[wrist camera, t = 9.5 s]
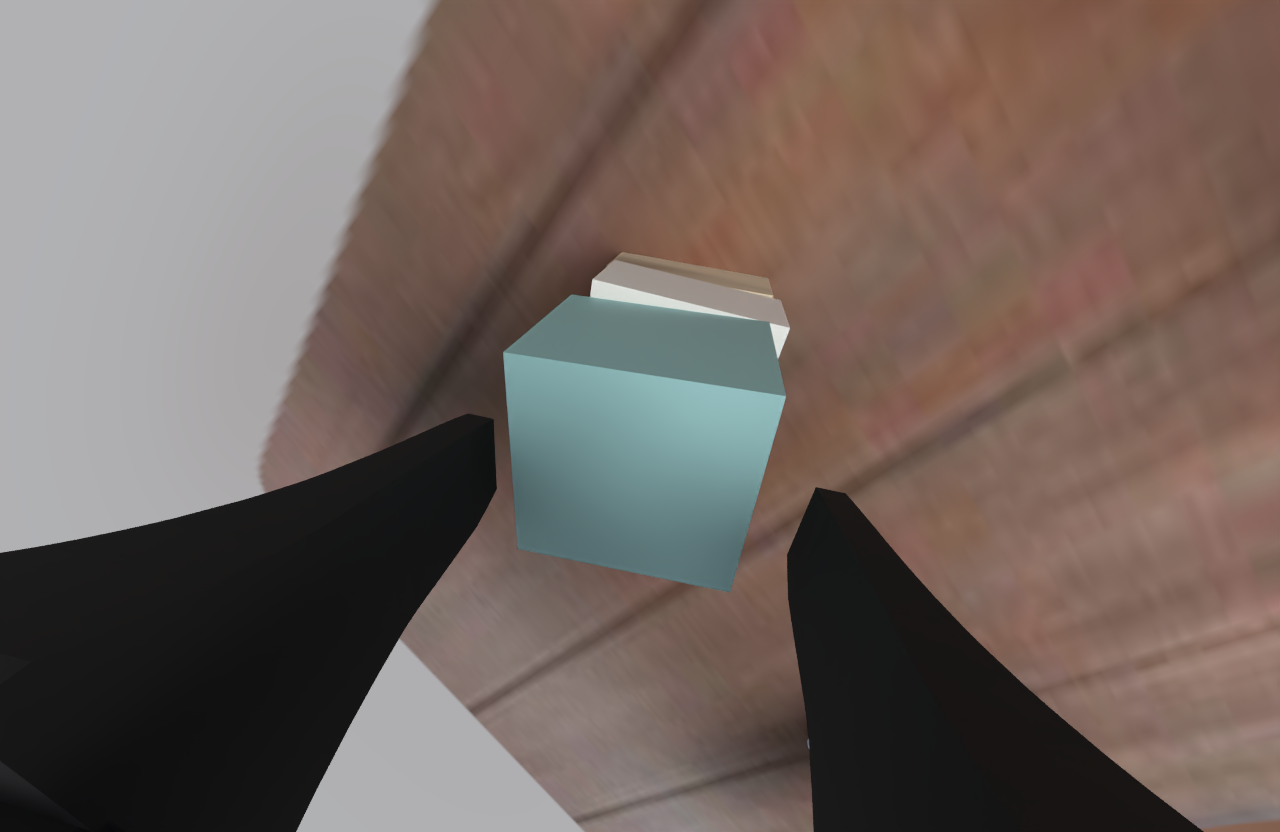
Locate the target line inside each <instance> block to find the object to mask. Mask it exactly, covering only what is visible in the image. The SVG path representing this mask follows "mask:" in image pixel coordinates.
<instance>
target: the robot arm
mask: <svg viewBox="0 0 1280 832" xmlns="http://www.w3.org/2000/svg"><path fill="white" fill-rule="evenodd" d="M496 489H497V485H496V464H495V442H494V421H493V419H491V418H486V417H482V416H477V415H472V414H466V415H463V416H460V417H458V418H455V419H453V420H450V421H448V422H445V423H443V424H441V425H439V426H436V427H434V428H432V429H429V430H427V431H425V432H423V433H420V434H418V435H416V436H414V437H411V438H409V439H407V440H405V441H402V442H400V443H398V444H395V445H393V446H391V447H389V448H386V449H384V450H382V451H379V452H377V453H375V454H372V455H370V456H367V457H364V458H362V459H359V460H357V461H354V462H352V463H349V464H347V465H344V466H342V467H339V468H337V469H334V470H332V471H329V472H327V473H324V474H321V475H319V476H316V477H313V478H310V479H307V480H305V481H302V482H299V483H296V484H293V485H290V486H287V487H284V488H280V489H277V490H274V491H271V492H268V493H265V494H262V495H259V496H255V497H252V498H249V499H245V500H241V501H238V502H234V503H230V504H227V505H223V506H219V507H215V508H211V509H208V510H204V511H200V512H196V513H193V514H189V515H185V516H181V517H178V518H174V519H170V520H165V521H161V522H157V523H152V524H148V525H144V526H139V527H135V528H130V529H126V530H121V531H116V532H112V533H107V534H102V535H97V536H92V537H88V538H82V539H77V540H73V541H67V542H62V543H57V544H51V545H45V546H40V547H34V548H28V549H22V550H15V551H9V552H3V553H0V832H296V831H297V829H298V827H299V825H300V822H301V820H302V818H303V816H304V814H305V812H306V810H307V808H308V806H309V804H310V802H311V800H312V798H313V796H314V794H315V792H316V789H317V788H318V786H319V784H320V782H321V780H322V778H323V776H324V774H325V772H326V770H327V768H328V766H329V765H330V763H331V761H332V759H333V757H334V755H335V753H336V751H337V749H338V747H339V745H340V743H341V742H342V740H343V738H344V736H345V734H346V732H347V730H348V728H349V726H350V724H351V723H352V721H353V719H354V717H355V715H356V713H357V712H358V710H359V708H360V706H361V704H362V703H363V701H364V699H365V697H366V695H367V694H368V692H369V690H370V688H371V686H372V684H373V683H374V681H375V679H376V677H377V675H378V674H379V672H380V670H381V669H382V667H383V665H384V663H385V662H386V660H387V658H388V656H389V655H390V653H391V651H392V650H393V648H394V646H395V644H396V643H397V641H398V639H399V638H400V636H401V634H402V633H403V631H404V629H405V628H406V626H407V625H408V623H409V622H410V620H411V619H412V617H413V616H414V614H415V613H416V611H417V610H418V608H419V607H420V605H421V604H422V603H423V601H424V600H425V598H426V597H427V596H428V594H429V593H430V591H431V590H432V589H433V587H434V586H435V585H436V583H437V582H438V580H439V579H440V578H441V576H442V575H443V573H444V572H445V571H446V569H447V568H448V566H449V565H450V564H451V562H452V561H453V560H454V558H455V557H456V555H457V554H458V553H459V551H460V550H461V548H462V547H463V545H464V544H465V543H466V541H467V540H468V538H469V537H470V536H471V534H472V533H473V531H474V530H475V528H476V527H477V525H478V523H479V522H480V520H481V518H482V516H483V514H484V513H485V511H486V509H487V507H488V505H489V503H490V501H491V499H492V497H493V495H494V493H495V491H496ZM787 575H788V600H789V607H790V614H791V621H792V627H793V634H794V640H795V647H796V653H797V659H798V666H799V672H800V678H801V684H802V691H803V697H804V703H805V710H806V719H807V727H808V736H809V739H808V740H807V744H808V748H809V751H810V767H811V783H812V802H813V825H814V832H1203V831H1202V830H1201V829H1199V828H1198V827H1197V826H1195V825H1194V824H1193V823H1192V822H1190V821H1189V820H1188V819H1186V818H1185V817H1184V816H1182V815H1181V814H1180V813H1178V812H1177V811H1176V810H1175V809H1173V808H1172V807H1171V806H1169V805H1168V804H1167V803H1165V802H1164V801H1163V800H1162V799H1160V798H1159V797H1158V796H1156V795H1155V794H1154V793H1152V792H1151V791H1150V790H1149V789H1147V788H1146V787H1145V786H1144V785H1142V784H1141V783H1140V782H1139V781H1137V780H1136V779H1135V778H1134V777H1132V776H1131V775H1130V774H1129V773H1127V772H1126V771H1125V770H1124V769H1122V768H1121V767H1120V766H1119V765H1117V764H1116V763H1115V762H1114V761H1112V760H1111V759H1110V758H1109V757H1107V756H1106V755H1105V754H1104V753H1103V752H1101V751H1100V750H1099V749H1098V748H1097V747H1095V746H1094V745H1093V744H1092V743H1091V742H1090V741H1088V740H1087V739H1086V738H1085V737H1084V736H1082V735H1081V734H1080V733H1079V732H1078V731H1076V730H1075V729H1074V728H1073V727H1072V726H1071V725H1069V724H1068V723H1067V722H1066V721H1065V720H1063V719H1062V718H1061V717H1060V716H1059V715H1058V714H1056V713H1055V712H1054V711H1053V710H1052V709H1050V708H1049V707H1048V706H1047V705H1046V704H1045V703H1044V702H1043V701H1041V700H1040V699H1039V698H1038V697H1037V696H1036V695H1035V694H1034V693H1032V692H1031V691H1030V690H1029V689H1028V688H1027V687H1026V686H1025V685H1023V684H1022V683H1021V682H1020V681H1019V680H1018V679H1017V678H1016V677H1015V676H1014V675H1013V674H1012V673H1011V672H1010V671H1009V670H1007V669H1006V668H1005V667H1004V666H1003V665H1002V664H1001V663H1000V662H999V661H998V660H997V659H996V658H995V657H994V656H993V655H991V654H990V653H989V652H988V651H987V650H986V649H985V648H984V647H983V646H982V645H981V644H980V643H979V642H978V641H977V640H976V639H975V638H974V637H973V636H972V635H971V634H970V633H969V632H968V631H967V630H966V629H965V628H964V627H963V626H962V625H961V624H960V623H959V622H958V621H957V620H956V619H955V618H954V617H953V616H952V615H951V613H950V612H949V611H948V610H947V609H946V608H945V607H944V606H943V605H942V604H941V603H940V602H939V601H938V600H937V599H936V598H935V597H934V596H933V594H932V593H931V592H930V591H929V590H928V589H927V588H926V587H925V586H924V585H923V583H922V582H921V581H920V580H919V579H918V578H917V577H916V576H915V574H914V573H913V572H912V571H911V570H910V569H909V568H908V566H907V565H906V564H905V563H904V562H903V561H902V560H901V558H900V557H899V556H898V555H897V554H896V552H895V551H894V550H893V549H892V548H891V547H890V545H889V544H888V543H887V542H886V541H885V539H884V538H883V537H882V536H881V535H880V533H879V532H878V531H877V530H876V529H875V527H874V526H873V525H872V524H871V523H870V521H869V520H868V519H867V518H866V517H865V515H864V514H863V513H862V512H861V511H860V509H859V508H858V507H857V506H856V505H855V504H854V502H853V501H852V500H851V499H850V498H849V497H848V496H847V495H846V494H845V493H841V492H836V491H831V490H827V489H822V488H817V487H816V488H815V491H814V493H813V495H812V498H811V500H810V502H809V505H808V507H807V509H806V512H805V514H804V516H803V519H802V521H801V523H800V526H799V528H798V531H797V533H796V535H795V538H794V540H793V542H792V545H791V547H790V549H789V552H788V554H787Z"/></svg>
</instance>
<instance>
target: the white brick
mask: <svg viewBox="0 0 1280 832" xmlns="http://www.w3.org/2000/svg"><path fill="white" fill-rule="evenodd" d="M590 297H593V298H600V299H608V300H615V301H622V302H629V303H636V304H644V305H651V306H658V307H665V308H673V309H680V310H687V311H694V312H701V313H709V314H716V315H723V316H730V317H737V318H745V319H752V320H759V321H766V322H770V327H771V331H772V336H773V340H774V345H775V349H776V353H777V358H779V355H780V353H781V350H782V347H783V345H784V342H785V340H786V337H787V335H788V332H789V329H790V326H789V323H788V321H787V318H786V315H785V312H784V309H783V306H782V303H781V300H778V299H774V298H769V297H765V296H761V295H757V294H753V293H749V292H745V291H741V290H737V289H733V288H728V287H724V286H720V285H716V284H712V283H708V282H704V281H700V280H696V279H692V278H687V277H683V276H679V275H675V274H671V273H667V272H663V271H659V270H655V269H651V268H646V267H642V266H638V265H634V264H630V263H626V262H622V261H618V260H614V261H613V262H612V263H611V264H609V265H608V266H607V267H606V268H605V269H604V270H603V271H601V272H600V273H599V274H598V275H597V276H596V277H594V278H593V279H592V287H591V294H590Z"/></svg>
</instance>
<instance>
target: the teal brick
mask: <svg viewBox="0 0 1280 832" xmlns="http://www.w3.org/2000/svg"><path fill="white" fill-rule="evenodd" d="M503 357H504V371H505V384H506V398H507V411H508V424H509V438H510V451H511V465H512V478H513V492H514V505H515V519H516V532H517V546H518V549H521V550H526V551H531V552H535V553H540V554H545V555H550V556H555V557H560V558H565V559H570V560H575V561H579V562H584V563H589V564H594V565H599V566H604V567H609V568H614V569H618V570H623V571H628V572H633V573H638V574H643V575H648V576H653V577H658V578H662V579H667V580H672V581H677V582H682V583H687V584H692V585H697V586H701V587H706V588H711V589H716V590H721V591H726V592H730V591H731V587H732V584H733V580H734V577H735V573H736V570H737V566H738V563H739V559H740V556H741V552H742V549H743V545H744V542H745V538H746V535H747V531H748V528H749V524H750V521H751V517H752V514H753V510H754V507H755V503H756V500H757V496H758V493H759V489H760V486H761V482H762V479H763V475H764V472H765V468H766V465H767V461H768V458H769V454H770V451H771V447H772V444H773V440H774V437H775V433H776V430H777V426H778V423H779V419H780V416H781V413H782V409H783V406H784V402H785V399H786V393H785V389H784V385H783V380H782V376H781V371H780V367H779V362H778V358H777V353H776V349H775V345H774V340H773V336H772V331H771V327H770V322H766V321H759V320H752V319H745V318H737V317H730V316H723V315H716V314H709V313H701V312H694V311H687V310H680V309H673V308H665V307H658V306H651V305H644V304H636V303H629V302H622V301H615V300H608V299H600V298H593V297H586V296H579V295H572V294H571V295H570V296H569V297H568V298H567V299H565V300H564V301H563V302H562V303H561V304H559V305H558V306H557V307H556V308H555V309H554V310H552V311H551V312H550V313H549V314H548V315H546V316H545V317H544V318H543V319H542V320H541V321H539V322H538V323H537V324H536V325H535V326H534V327H532V328H531V329H530V330H529V331H528V332H526V333H525V334H524V335H523V336H522V337H521V338H519V339H518V340H517V341H516V342H515V343H513V344H512V345H511V346H510V347H509V348H508V349H506V350H505V351H504V352H503Z"/></svg>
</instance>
